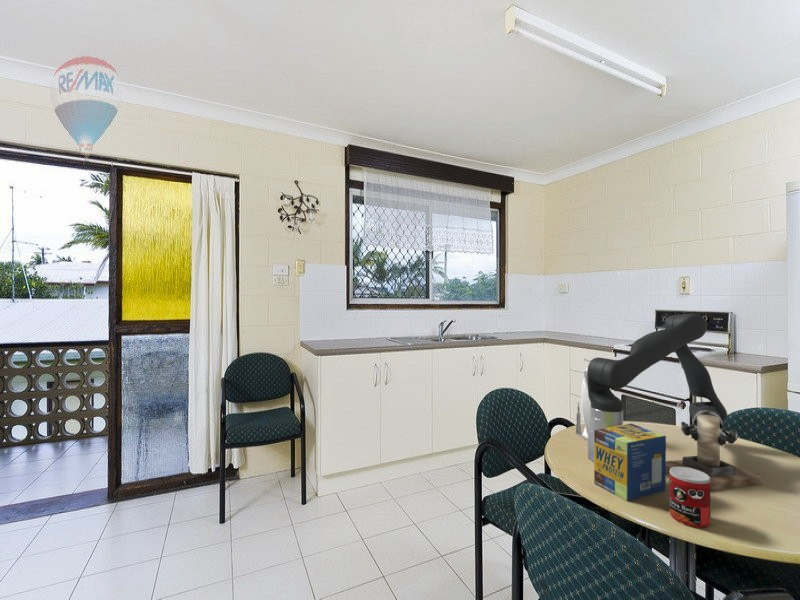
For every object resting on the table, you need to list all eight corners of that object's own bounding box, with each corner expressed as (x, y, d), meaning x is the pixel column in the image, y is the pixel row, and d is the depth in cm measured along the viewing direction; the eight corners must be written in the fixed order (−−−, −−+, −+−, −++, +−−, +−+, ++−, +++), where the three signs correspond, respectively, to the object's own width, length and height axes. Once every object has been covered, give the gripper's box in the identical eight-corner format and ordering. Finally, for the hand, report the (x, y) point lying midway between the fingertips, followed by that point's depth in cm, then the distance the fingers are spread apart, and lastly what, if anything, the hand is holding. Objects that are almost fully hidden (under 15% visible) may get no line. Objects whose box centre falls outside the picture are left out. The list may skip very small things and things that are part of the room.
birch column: (701, 466, 110) (701, 419, 110) (694, 459, 115) (694, 413, 115) (723, 469, 109) (723, 420, 109) (714, 461, 114) (714, 415, 114)
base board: (703, 491, 103) (703, 475, 103) (659, 468, 117) (659, 455, 117) (761, 484, 107) (761, 469, 107) (712, 462, 121) (712, 449, 121)
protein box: (593, 483, 108) (593, 429, 108) (631, 474, 113) (631, 423, 113) (627, 502, 98) (626, 442, 98) (667, 491, 104) (667, 434, 103)
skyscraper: (595, 433, 148) (595, 362, 148) (608, 441, 140) (608, 366, 140) (575, 433, 148) (574, 362, 148) (586, 441, 140) (586, 366, 140)
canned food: (662, 514, 92) (662, 469, 92) (682, 507, 95) (682, 463, 95) (697, 532, 85) (697, 483, 85) (717, 523, 88) (717, 477, 88)
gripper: (680, 408, 128) (677, 422, 114) (737, 416, 119) (741, 432, 105) (680, 430, 128) (677, 446, 114) (737, 440, 119) (741, 459, 105)
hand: (708, 439), depth 110 cm, fingers closed on birch column, 5 cm apart
